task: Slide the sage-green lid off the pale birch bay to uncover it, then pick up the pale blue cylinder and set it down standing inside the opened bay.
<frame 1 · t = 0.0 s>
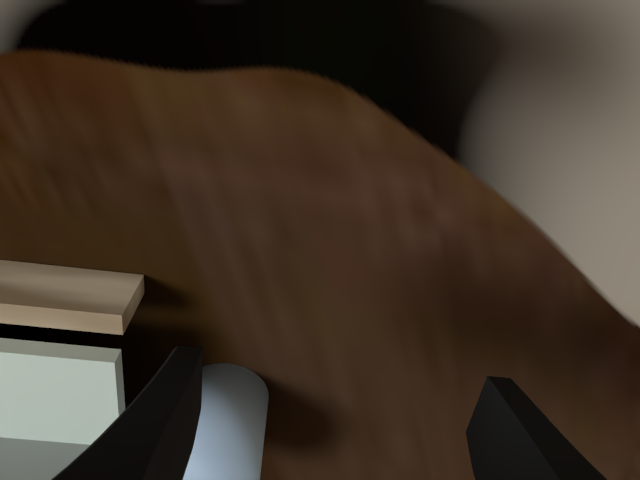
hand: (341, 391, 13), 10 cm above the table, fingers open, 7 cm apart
pale blue cylinder: (226, 395, 27), on the table
bay: (6, 368, 26), on the table
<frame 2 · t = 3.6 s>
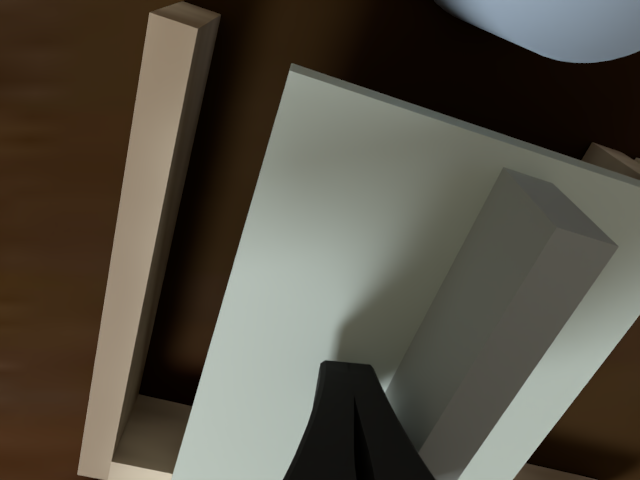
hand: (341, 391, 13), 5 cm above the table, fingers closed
lid: (398, 412, 13), point 5 cm above the table, slide at 1.5 cm, touching gripper
bay: (335, 285, 17), on the table
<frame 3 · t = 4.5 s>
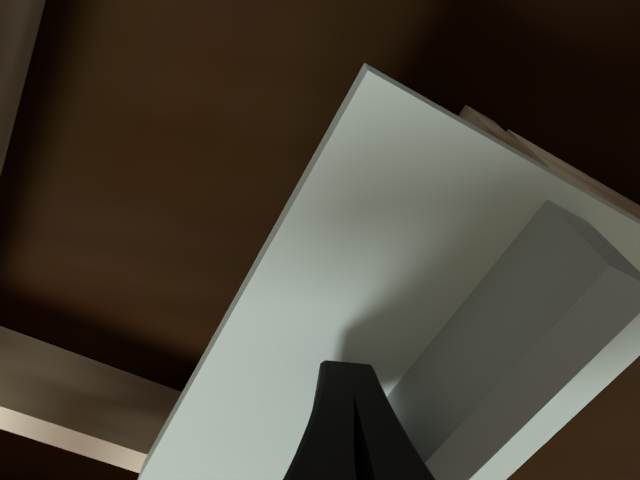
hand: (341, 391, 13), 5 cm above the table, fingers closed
lid: (399, 421, 13), point 5 cm above the table, slide at 6.9 cm, touching gripper
bay: (189, 219, 16), on the table
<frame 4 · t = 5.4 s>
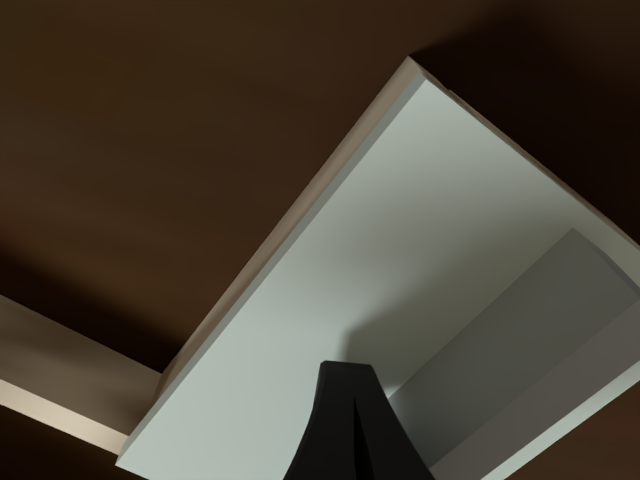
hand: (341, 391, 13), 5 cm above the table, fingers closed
lid: (397, 427, 13), point 5 cm above the table, slide at 10.1 cm, touching gripper
bay: (105, 142, 15), on the table
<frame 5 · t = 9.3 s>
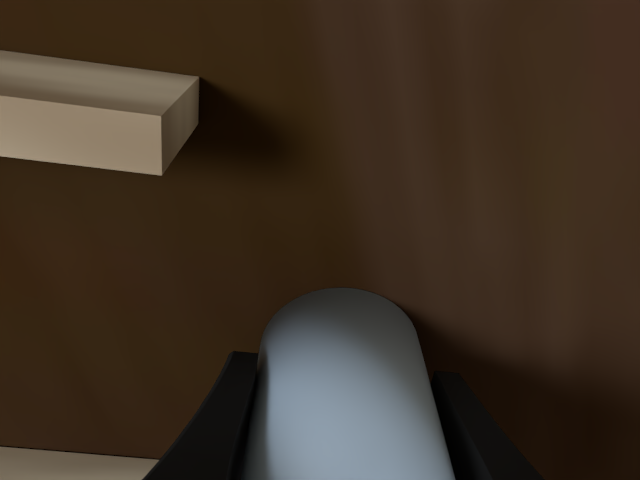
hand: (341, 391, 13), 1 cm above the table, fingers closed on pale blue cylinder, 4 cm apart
pale blue cylinder: (339, 353, 14), on the table, touching gripper
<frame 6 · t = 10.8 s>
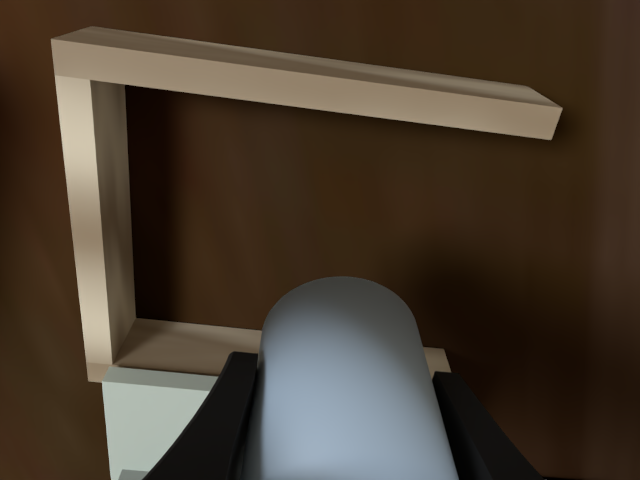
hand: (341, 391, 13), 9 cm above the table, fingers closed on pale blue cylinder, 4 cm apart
pale blue cylinder: (339, 342, 15), point 7 cm above the table, touching gripper
bay: (307, 226, 21), on the table
when the fingers open (3 cm above the table, at t = 12.3 s): pale blue cylinder drops 1 cm, on the table.
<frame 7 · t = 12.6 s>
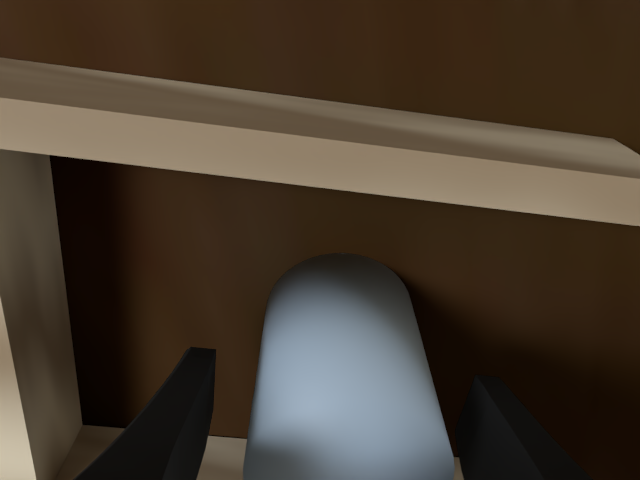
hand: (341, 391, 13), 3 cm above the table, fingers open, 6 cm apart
pale blue cylinder: (338, 316, 16), on the table
bay: (304, 317, 16), on the table
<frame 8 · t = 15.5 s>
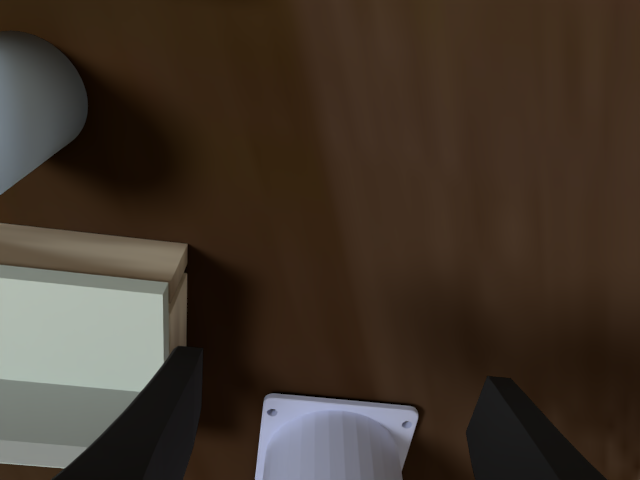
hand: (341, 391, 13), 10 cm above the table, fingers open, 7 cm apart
pale blue cylinder: (27, 93, 19), on the table
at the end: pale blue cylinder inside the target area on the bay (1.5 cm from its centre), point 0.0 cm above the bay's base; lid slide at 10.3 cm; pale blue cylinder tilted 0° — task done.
